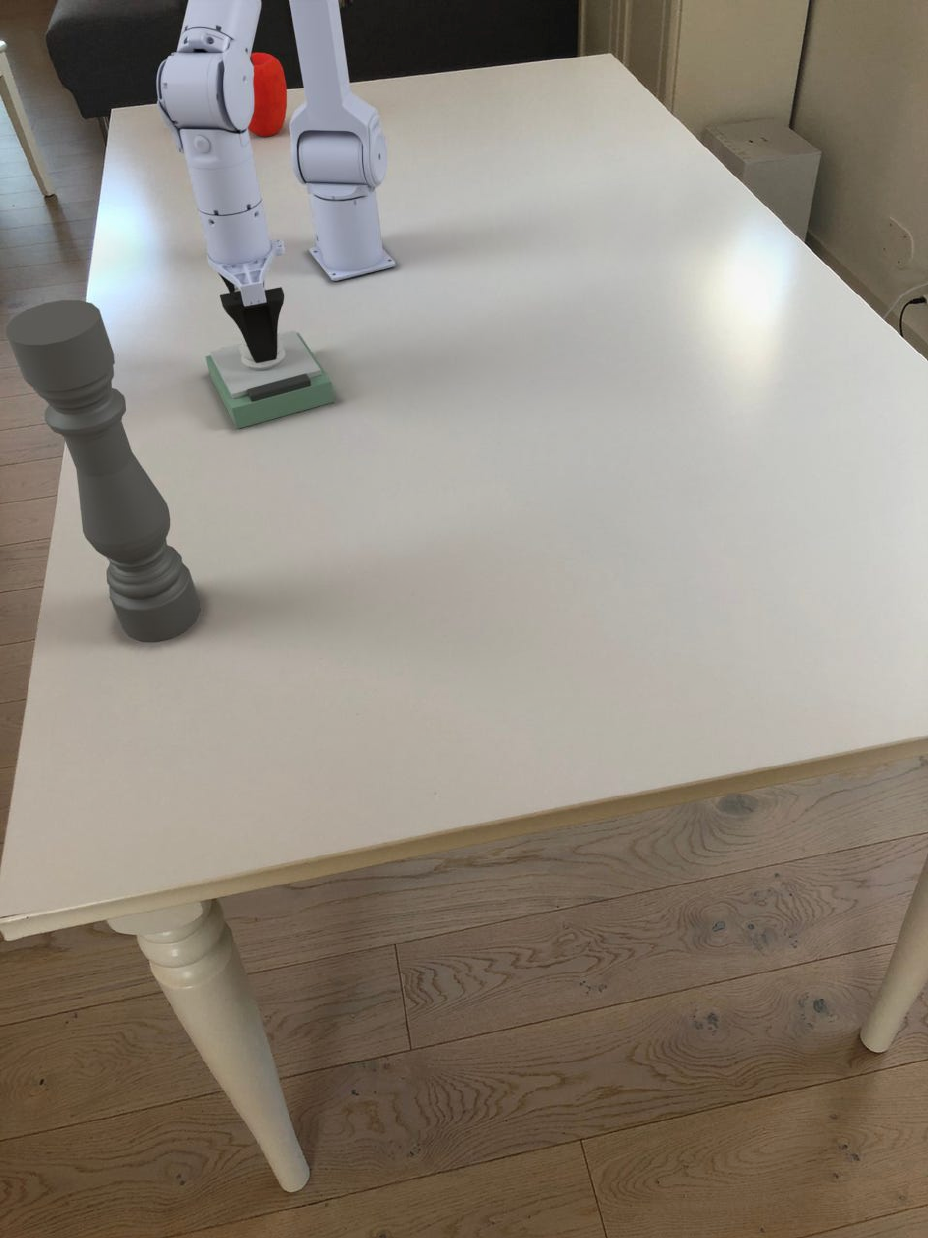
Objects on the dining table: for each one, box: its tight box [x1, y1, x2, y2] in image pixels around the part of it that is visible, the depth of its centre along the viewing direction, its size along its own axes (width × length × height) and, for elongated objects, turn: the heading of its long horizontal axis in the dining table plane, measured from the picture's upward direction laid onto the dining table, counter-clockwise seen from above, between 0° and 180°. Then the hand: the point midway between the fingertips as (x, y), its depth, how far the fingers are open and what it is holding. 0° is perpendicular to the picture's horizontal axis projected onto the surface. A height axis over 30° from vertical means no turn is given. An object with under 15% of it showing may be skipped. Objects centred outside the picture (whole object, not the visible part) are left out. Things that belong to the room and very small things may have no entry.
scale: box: [204, 329, 335, 430], centre depth 101 cm, size 11×10×3 cm
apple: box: [248, 52, 288, 138], centre depth 153 cm, size 9×9×11 cm
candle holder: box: [5, 299, 201, 643], centre depth 71 cm, size 6×6×25 cm
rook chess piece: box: [234, 286, 285, 370], centre depth 98 cm, size 4×4×8 cm
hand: (259, 340), depth 99 cm, fingers open, 7 cm apart
